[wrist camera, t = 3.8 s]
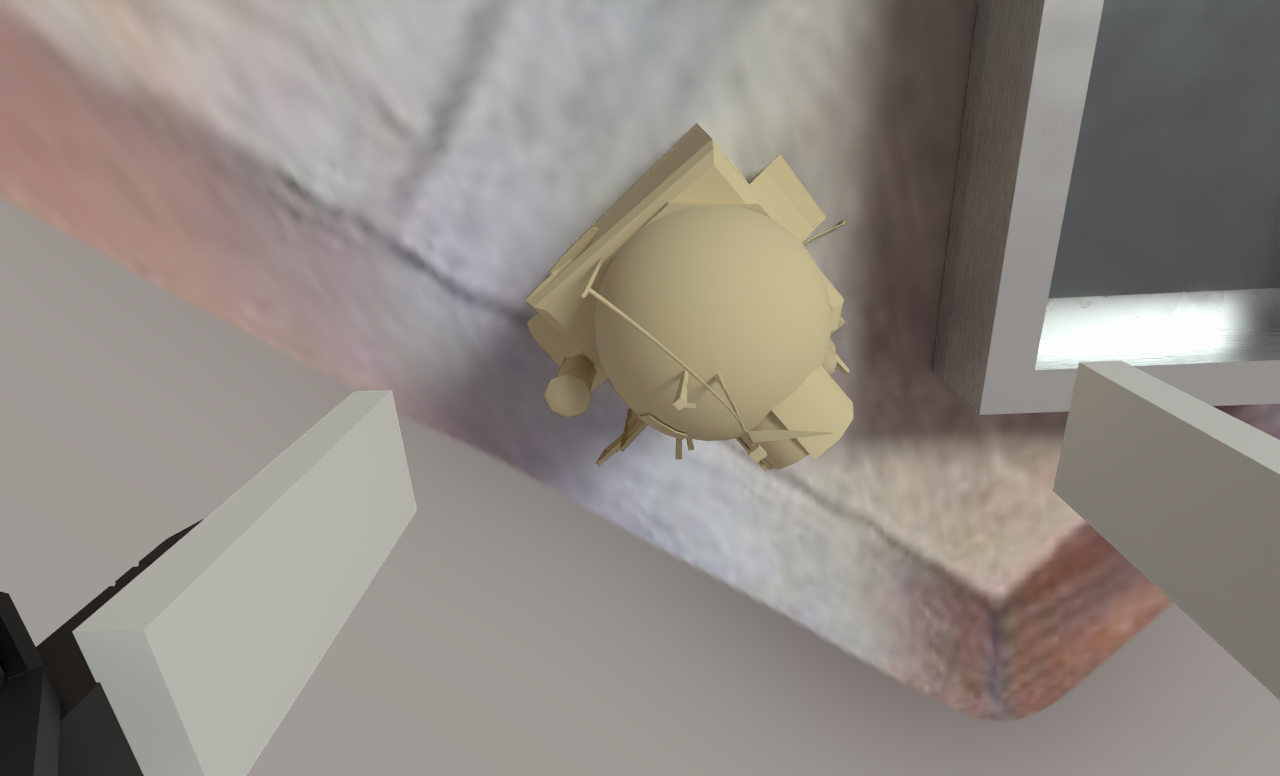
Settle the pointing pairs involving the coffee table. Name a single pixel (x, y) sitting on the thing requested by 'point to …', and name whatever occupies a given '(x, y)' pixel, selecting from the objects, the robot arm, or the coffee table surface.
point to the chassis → (1116, 202)
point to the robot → (701, 311)
